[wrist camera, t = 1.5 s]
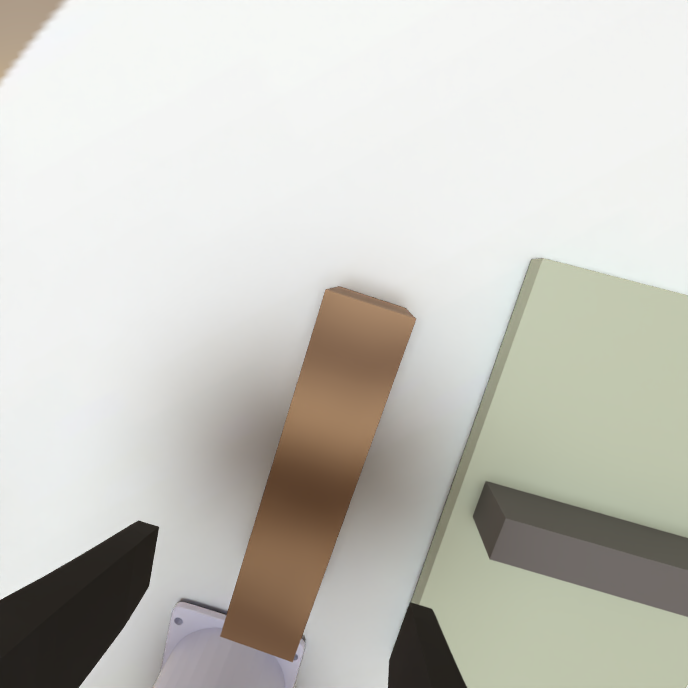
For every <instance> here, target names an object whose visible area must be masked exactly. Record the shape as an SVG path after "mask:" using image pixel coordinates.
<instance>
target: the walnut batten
mask: <svg viewBox="0 0 688 688" xmlns="http://www.w3.org/2000/svg"><path fill="white" fill-rule="evenodd" d="M415 321H416V318H415V317H414V316H413V315H412V314H411V313H410V312H409V311H408V310H407V309H406V308H404V307H401V306H398V305H395V304H392V303H389V302H386V301H383V300H379V299H376V298H373V297H370V296H367V295H364V294H361V293H358V292H355V291H352V290H349V289H346V288H343V287H340V286H338V287H334V288H330V289H326V290H325V293H324V296H323V300H322V303H321V306H320V310H319V313H318V316H317V319H316V323H315V326H314V329H313V333H312V336H311V339H310V342H309V346H308V349H307V352H306V356H305V359H304V362H303V365H302V369H301V372H300V375H299V379H298V382H297V385H296V388H295V392H294V395H293V398H292V402H291V405H290V408H289V411H288V415H287V418H286V421H285V425H284V428H283V431H282V434H281V438H280V441H279V444H278V448H277V451H276V454H275V457H274V461H273V464H272V467H271V471H270V474H269V477H268V480H267V484H266V487H265V490H264V494H263V497H262V500H261V503H260V507H259V510H258V513H257V517H256V520H255V523H254V526H253V530H252V533H251V536H250V540H249V543H248V546H247V549H246V553H245V556H244V559H243V563H242V566H241V569H240V572H239V576H238V579H237V582H236V586H235V589H234V592H233V595H232V599H231V602H230V605H229V609H228V612H227V615H226V618H225V622H224V625H223V628H222V632H221V635H220V637H223V638H226V639H228V640H231V641H234V642H237V643H240V644H242V645H245V646H248V647H251V648H254V649H256V650H259V651H262V652H265V653H268V654H270V655H273V656H276V657H279V658H282V659H284V660H287V661H290V662H293V660H294V657H295V654H296V651H297V648H298V646H299V643H300V640H301V637H302V635H303V632H304V629H305V626H306V623H307V621H308V618H309V615H310V612H311V610H312V607H313V604H314V601H315V598H316V596H317V593H318V590H319V587H320V585H321V582H322V579H323V576H324V573H325V571H326V568H327V565H328V562H329V560H330V557H331V554H332V551H333V549H334V546H335V543H336V540H337V537H338V535H339V532H340V529H341V526H342V524H343V521H344V518H345V515H346V512H347V510H348V507H349V504H350V501H351V499H352V496H353V493H354V490H355V487H356V485H357V482H358V479H359V476H360V474H361V471H362V468H363V465H364V462H365V460H366V457H367V454H368V451H369V449H370V446H371V443H372V440H373V437H374V435H375V432H376V429H377V426H378V424H379V421H380V418H381V415H382V412H383V410H384V407H385V404H386V401H387V399H388V396H389V393H390V390H391V387H392V385H393V382H394V379H395V376H396V374H397V371H398V368H399V365H400V362H401V360H402V357H403V354H404V351H405V349H406V346H407V343H408V340H409V338H410V335H411V332H412V329H413V326H414V324H415Z"/></svg>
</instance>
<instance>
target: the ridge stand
mask: <svg viewBox="0 0 688 688" xmlns="http://www.w3.org/2000/svg"><path fill="white" fill-rule="evenodd" d="M411 603H415V604H418V605H421V606H425V607H428V608H431V609H433V611H434V613H435V615H436V618H437V620H438V622H439V625H440V627H441V630H442V632H443V634H444V637H445V639H446V641H447V644H448V646H449V648H450V651H451V653H452V655H453V657H454V660H455V662H456V664H457V666H458V669H459V671H460V673H461V675H462V677H463V680H464V682H465V684H466V686H467V688H686V687H687V685H688V295H684V294H680V293H676V292H673V291H669V290H665V289H661V288H657V287H653V286H649V285H645V284H641V283H638V282H634V281H630V280H626V279H622V278H618V277H614V276H610V275H606V274H603V273H599V272H595V271H591V270H587V269H583V268H579V267H575V266H572V265H568V264H564V263H560V262H556V261H552V260H548V259H544V258H540V259H531V262H530V265H529V268H528V271H527V273H526V276H525V279H524V282H523V285H522V288H521V291H520V293H519V296H518V299H517V302H516V305H515V308H514V310H513V313H512V316H511V319H510V322H509V325H508V328H507V330H506V333H505V336H504V339H503V342H502V345H501V347H500V350H499V353H498V356H497V359H496V362H495V364H494V367H493V370H492V373H491V376H490V379H489V382H488V384H487V387H486V390H485V393H484V396H483V399H482V401H481V404H480V407H479V410H478V413H477V416H476V419H475V421H474V424H473V427H472V430H471V433H470V436H469V438H468V441H467V444H466V447H465V450H464V453H463V455H462V458H461V461H460V464H459V467H458V470H457V473H456V475H455V478H454V481H453V484H452V487H451V490H450V492H449V495H448V498H447V501H446V504H445V507H444V509H443V512H442V515H441V518H440V521H439V524H438V527H437V529H436V532H435V535H434V538H433V541H432V544H431V546H430V549H429V552H428V555H427V558H426V561H425V564H424V566H423V569H422V572H421V575H420V578H419V581H418V583H417V586H416V589H415V592H414V595H413V598H412V600H411Z"/></svg>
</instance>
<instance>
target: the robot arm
mask: <svg viewBox="0 0 688 688" xmlns="http://www.w3.org/2000/svg"><path fill="white" fill-rule="evenodd" d="M158 530H159V527H158V526H155V525H151V524H148V523H145V522H141V521H137V522H135V523H133V524H132V525H130V526H128V527H127V528H125V529H123V530H122V531H120V532H118V533H117V534H115V535H113V536H112V537H110V538H108V539H107V540H105V541H104V542H102V543H100V544H99V545H97V546H95V547H94V548H92V549H90V550H89V551H87V552H85V553H84V554H82V555H80V556H79V557H77V558H75V559H73V560H72V561H70V562H68V563H66V564H65V565H63V566H61V567H60V568H58V569H56V570H54V571H53V572H51V573H49V574H47V575H46V576H44V577H42V578H40V579H38V580H36V581H35V582H33V583H31V584H29V585H27V586H25V587H23V588H22V589H20V590H18V591H16V592H14V593H12V594H10V595H8V596H7V597H5V598H3V599H1V600H0V688H79V686H80V685H81V684H82V682H83V681H84V680H85V679H86V677H87V676H88V675H89V673H90V672H91V671H92V669H93V668H94V667H95V665H96V664H97V663H98V661H99V660H100V659H101V657H102V656H103V655H104V653H105V652H106V651H107V649H108V648H109V647H110V645H111V644H112V643H113V641H114V640H115V639H116V637H117V636H118V634H119V633H120V632H121V630H122V629H123V628H124V626H125V625H126V623H127V621H128V620H129V618H130V617H131V615H132V613H133V612H134V610H135V609H136V607H137V605H138V604H139V602H140V600H141V599H142V597H143V595H144V594H145V592H146V590H147V589H148V587H149V583H150V577H151V571H152V565H153V559H154V553H155V547H156V541H157V536H158ZM225 618H226V615H225V614H222V613H218V612H215V611H212V610H209V609H205V608H202V607H199V606H196V605H192V604H189V603H186V602H178V603H177V604H176V605H175V607H174V609H173V611H172V615H171V620H170V625H169V630H168V635H167V640H166V645H165V650H164V655H163V661H162V666H161V671H160V674H159V676H158V678H157V680H156V682H155V684H154V685H153V687H152V688H293V687H294V684H295V681H296V677H297V674H298V670H299V667H300V663H301V660H302V657H303V653H304V649H305V642H304V641H303V639H302V638H301V640H300V643H299V646H298V648H297V651H296V654H295V657H294V660H293V662H290V661H287V660H284V659H282V658H279V657H276V656H273V655H270V654H268V653H265V652H262V651H259V650H256V649H254V648H251V647H248V646H245V645H242V644H240V643H237V642H234V641H231V640H228V639H226V638H223V637H220V635H221V632H222V628H223V625H224V622H225ZM388 688H467V686H466V684H465V682H464V680H463V677H462V675H461V673H460V671H459V669H458V666H457V664H456V662H455V660H454V657H453V655H452V653H451V651H450V648H449V646H448V644H447V641H446V639H445V637H444V634H443V632H442V630H441V627H440V625H439V622H438V620H437V618H436V615H435V613H434V611H433V609H431V608H428V607H425V606H421V605H418V604H415V603H411V602H410V604H409V607H408V609H407V612H406V615H405V618H404V621H403V623H402V626H401V629H400V632H399V635H398V637H397V640H396V643H395V646H394V648H393V651H392V654H391V657H390V660H389V677H388Z"/></svg>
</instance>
